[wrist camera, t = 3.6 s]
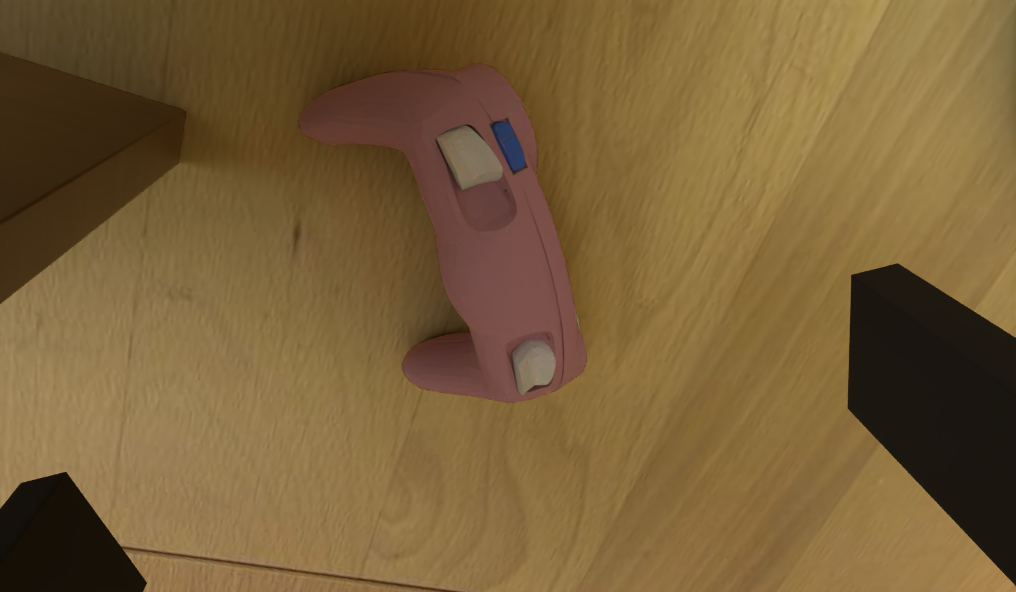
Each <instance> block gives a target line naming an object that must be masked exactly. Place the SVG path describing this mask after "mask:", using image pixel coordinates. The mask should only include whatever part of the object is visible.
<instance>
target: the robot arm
mask: <svg viewBox="0 0 1016 592" xmlns="http://www.w3.org/2000/svg"><path fill="white" fill-rule="evenodd" d="M848 409H849V410H850V411H851V412H852V413H853V415H854V416H855V417H856V418H857V419H858V420H859V421H860V422H861V423H862V424H863V425H864V426H865V427H866V428H867V429H868V430H869V431H870V432H871V434H872V435H873V436H874V437H875V438H876V439H877V440H878V441H879V442H880V443H881V444H882V445H883V446H884V447H885V448H886V449H887V450H888V451H889V453H890V454H891V455H892V456H893V457H894V458H895V459H896V460H897V461H898V462H899V463H900V464H901V465H902V466H903V467H904V468H905V469H906V470H907V472H908V473H909V474H910V475H911V476H912V477H913V478H914V479H915V480H916V481H917V482H918V483H919V484H920V485H921V486H922V487H923V488H924V490H925V491H926V492H927V493H928V494H929V495H930V496H931V497H932V498H933V499H934V500H935V501H936V502H937V503H938V504H939V505H940V506H941V507H942V509H943V510H944V511H945V512H946V513H947V514H948V515H949V516H950V517H951V518H952V519H953V520H954V521H955V522H956V523H957V524H958V525H959V526H960V528H961V529H962V530H963V531H964V532H965V533H966V534H967V535H968V536H969V537H970V538H971V539H972V540H973V541H974V542H975V543H976V544H977V545H978V547H979V548H980V549H981V550H982V551H983V552H984V553H985V554H986V555H987V556H988V557H989V558H990V559H991V560H992V561H993V562H994V563H995V564H996V566H997V567H998V568H999V569H1000V570H1001V571H1002V572H1003V573H1004V574H1005V575H1006V576H1007V577H1008V578H1009V579H1010V580H1011V581H1012V582H1013V583H1014V585H1015V586H1016V338H1015V337H1013V336H1012V335H1010V334H1009V333H1007V332H1005V331H1004V330H1002V329H1001V328H999V327H998V326H996V325H994V324H993V323H991V322H990V321H988V320H986V319H985V318H983V317H982V316H980V315H979V314H977V313H975V312H974V311H972V310H971V309H969V308H968V307H966V306H964V305H963V304H961V303H960V302H958V301H956V300H955V299H953V298H952V297H950V296H949V295H947V294H945V293H944V292H942V291H941V290H939V289H937V288H936V287H934V286H933V285H931V284H930V283H928V282H926V281H925V280H923V279H922V278H920V277H918V276H917V275H915V274H914V273H912V272H911V271H909V270H907V269H906V268H904V267H903V266H901V265H899V264H898V263H897V264H893V265H889V266H885V267H881V268H877V269H873V270H869V271H865V272H861V273H857V274H853V275H851V308H850V343H849V378H848ZM146 584H147V582H146V581H145V579H144V578H143V577H142V575H141V574H140V573H139V571H138V570H137V568H136V567H135V566H134V564H133V563H132V562H131V560H130V559H129V557H128V556H127V555H126V553H125V552H124V551H123V549H122V548H121V546H120V545H119V544H118V542H117V541H116V540H115V538H114V537H113V535H112V534H111V533H110V531H109V530H108V529H107V527H106V526H105V524H104V523H103V522H102V520H101V519H100V518H99V516H98V515H97V513H96V512H95V511H94V509H93V508H92V507H91V505H90V504H89V503H88V501H87V500H86V498H85V497H84V496H83V494H82V493H81V492H80V490H79V489H78V487H77V486H76V485H75V483H74V482H73V481H72V479H71V478H70V476H69V475H68V474H67V472H63V473H59V474H55V475H51V476H47V477H43V478H39V479H35V480H31V481H27V482H23V483H21V484H20V485H19V486H18V487H17V489H16V490H15V491H14V492H13V494H12V495H11V496H10V497H9V499H8V500H7V501H6V502H5V504H4V505H3V506H2V507H1V509H0V592H143V590H144V588H145V586H146Z"/></svg>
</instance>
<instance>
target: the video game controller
mask: <svg viewBox="0 0 1016 592" xmlns="http://www.w3.org/2000/svg"><path fill="white" fill-rule="evenodd" d="M298 124H299V128H300V131H301V132H302V133H303V134H304V135H306V136H307V137H309V138H311V139H314V140H317V141H320V142H323V143H326V144H329V145H332V144H366V145H376V146H386V147H391V148H394V149H398V150H400V151H401V152H403V153H404V154H405V156H406V157H407V159H408V161H409V163H410V166H411V169H412V171H413V174H414V177H415V180H416V183H417V186H418V189H419V191H420V194H421V197H422V199H423V202H424V204H425V207H426V209H427V212H428V214H429V217H430V219H431V222H432V224H433V227H434V229H435V232H436V242H437V253H438V261H439V267H440V274H441V278H442V281H443V284H444V287H445V290H446V293H447V296H448V298H449V299H450V301H451V303H452V304H453V306H454V308H455V309H456V311H457V312H458V314H459V315H460V316H461V318H462V319H463V320H464V321H465V322H466V323H467V325H468V326H469V329H470V332H462V333H453V334H447V335H443V336H439V337H436V338H432V339H428V340H426V341H424V342H422V343H420V344H419V345H415V346H414V347H413V348H412V349H411V350H409V351H408V353H407V354H406V356H405V357H404V359H403V362H402V371H403V373H404V375H405V376H406V377H407V379H408V380H409V381H410V382H411V383H413V384H414V385H416V386H417V387H419V388H422V389H425V390H429V391H435V392H440V393H447V394H456V395H465V396H473V397H479V398H485V399H490V400H495V401H501V402H506V403H515V402H520V401H526V400H531V399H534V398H537V397H540V396H543V395H546V394H548V393H551V392H554V391H556V390H558V389H559V388H561V387H562V386H564V385H565V384H567V383H569V382H570V381H572V380H573V379H575V378H576V377H578V376H579V375H581V374H582V373H583V372H584V369H585V367H586V363H587V352H586V346H585V343H584V340H583V337H582V335H581V332H580V329H579V327H580V323H579V320H578V316H577V313H576V311H575V306H574V299H573V294H572V290H571V285H570V280H569V275H568V271H567V266H566V261H565V258H564V254H563V251H562V248H561V244H560V241H559V237H558V234H557V230H556V227H555V223H554V220H553V218H552V215H551V212H550V209H549V206H548V203H547V200H546V197H545V195H544V192H543V190H542V188H541V185H540V183H539V180H538V178H537V175H536V173H537V163H538V151H537V144H536V137H535V133H534V130H533V127H532V124H531V121H530V118H529V115H528V113H527V111H526V109H525V107H524V105H523V103H522V101H521V99H520V97H519V95H518V94H517V93H516V91H515V90H514V89H513V87H512V86H511V84H510V83H509V82H508V81H507V80H506V78H505V77H504V76H503V75H502V74H501V73H500V72H498V71H497V70H496V69H494V68H493V67H491V66H489V65H487V64H482V63H473V64H471V65H468V66H466V67H463V68H460V69H458V70H455V71H453V72H450V71H444V70H437V69H428V70H401V71H393V72H385V73H381V74H378V75H374V76H370V77H367V78H364V79H361V80H358V81H355V82H352V83H348V84H345V85H342V86H339V87H336V88H334V89H331V90H329V91H327V92H325V93H324V94H322V95H320V96H319V97H317V98H316V99H314V100H313V101H312V102H311V103H309V104H308V105H307V106H306V107H305V108H304V109H303V111H302V112H301V114H300V116H299V120H298Z"/></svg>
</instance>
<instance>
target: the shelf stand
mask: <svg viewBox="0 0 1016 592" xmlns="http://www.w3.org/2000/svg"><path fill="white" fill-rule="evenodd" d="M185 117H186V111H184V110H181V109H178V108H175V107H172V106H168V105H165V104H162V103H159V102H156V101H153V100H149V99H146V98H143V97H140V96H137V95H133V94H130V93H127V92H124V91H121V90H117V89H114V88H111V87H108V86H105V85H102V84H98V83H95V82H92V81H89V80H86V79H82V78H79V77H76V76H73V75H70V74H67V73H63V72H60V71H57V70H54V69H51V68H47V67H44V66H41V65H38V64H35V63H32V62H28V61H25V60H22V59H19V58H16V57H12V56H9V55H6V54H3V53H0V304H1V303H2V302H4V301H5V300H6V299H7V298H9V297H10V296H11V295H12V294H14V293H15V292H16V291H18V290H19V289H20V288H21V287H23V286H24V285H25V284H26V283H28V282H29V281H30V280H31V279H33V278H34V277H35V276H37V275H38V274H39V273H40V272H42V271H43V270H44V269H45V268H47V267H48V266H49V265H50V264H52V263H53V262H54V261H55V260H57V259H58V258H59V257H61V256H62V255H63V254H64V253H66V252H67V251H68V250H69V249H71V248H72V247H73V246H74V245H76V244H77V243H78V242H79V241H81V240H82V239H83V238H85V237H86V236H87V235H88V234H90V233H91V232H92V231H93V230H95V229H96V228H97V227H98V226H100V225H101V224H102V223H104V222H105V221H106V220H107V219H109V218H110V217H111V216H112V215H114V214H115V213H116V212H117V211H119V210H120V209H121V208H122V207H124V206H125V205H126V204H128V203H129V202H130V201H131V200H133V199H134V198H135V197H136V196H138V195H139V194H140V193H141V192H143V191H144V190H145V189H147V188H148V187H149V186H150V185H152V184H153V183H154V182H155V181H157V180H158V179H159V178H160V177H162V176H163V175H164V174H165V173H167V172H168V171H169V170H171V169H172V168H173V167H174V166H176V165H177V164H178V162H179V156H180V149H181V143H182V136H183V130H184V123H185Z"/></svg>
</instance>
